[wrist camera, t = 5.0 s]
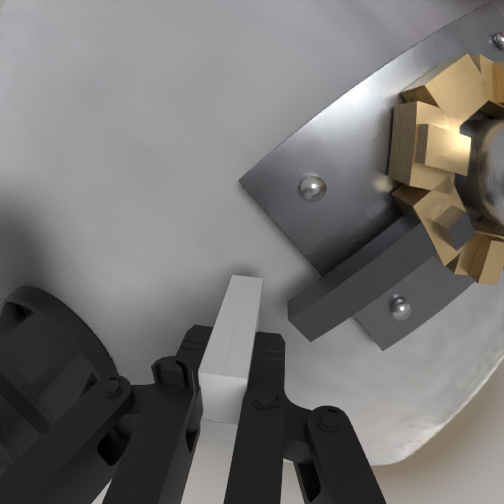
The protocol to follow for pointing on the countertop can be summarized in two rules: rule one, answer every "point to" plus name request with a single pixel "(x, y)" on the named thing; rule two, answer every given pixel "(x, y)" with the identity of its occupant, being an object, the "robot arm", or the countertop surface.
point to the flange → (382, 176)
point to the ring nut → (420, 199)
